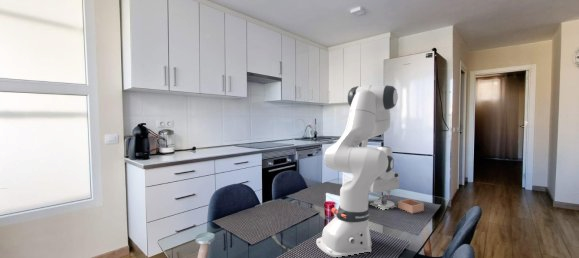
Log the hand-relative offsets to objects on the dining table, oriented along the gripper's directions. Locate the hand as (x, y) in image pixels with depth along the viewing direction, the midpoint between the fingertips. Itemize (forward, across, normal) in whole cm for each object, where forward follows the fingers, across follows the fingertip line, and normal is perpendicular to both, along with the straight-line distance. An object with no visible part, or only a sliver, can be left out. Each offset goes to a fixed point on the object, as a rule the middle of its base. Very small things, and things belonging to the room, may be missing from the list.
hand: (383, 198), depth 145 cm
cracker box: (+4, -13, +11) cm, 17 cm away
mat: (+4, -1, 0) cm, 4 cm away
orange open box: (+4, +8, -11) cm, 14 cm away
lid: (+3, 0, 0) cm, 3 cm away
